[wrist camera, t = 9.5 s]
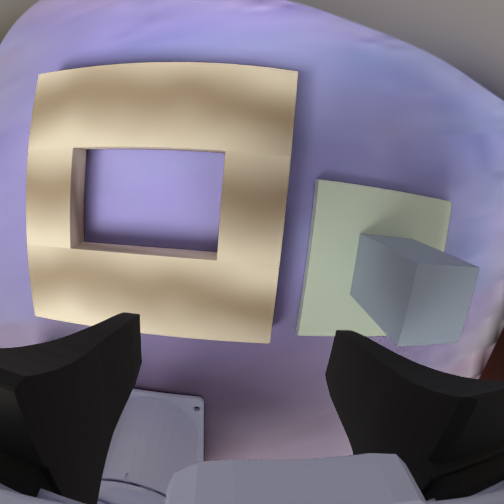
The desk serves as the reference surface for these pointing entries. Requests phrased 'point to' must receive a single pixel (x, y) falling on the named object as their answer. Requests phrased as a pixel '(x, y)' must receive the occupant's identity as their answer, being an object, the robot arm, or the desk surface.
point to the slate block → (412, 289)
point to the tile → (346, 244)
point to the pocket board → (162, 138)
